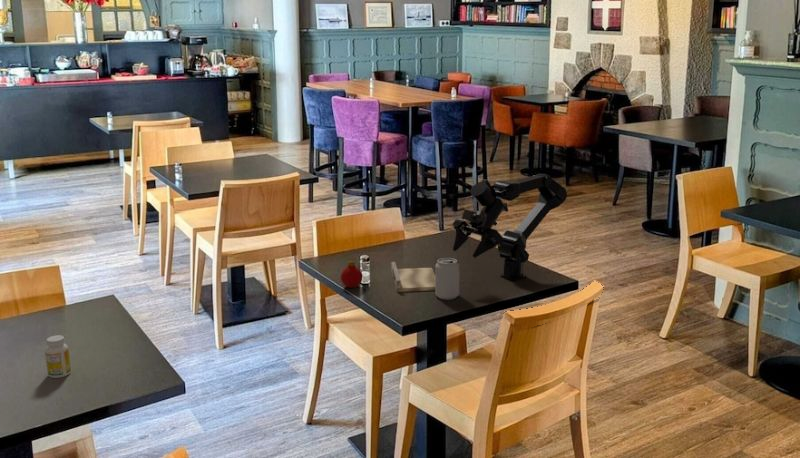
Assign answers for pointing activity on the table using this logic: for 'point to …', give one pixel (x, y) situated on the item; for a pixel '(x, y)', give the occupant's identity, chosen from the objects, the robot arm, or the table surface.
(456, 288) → the can
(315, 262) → the table surface
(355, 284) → the christmas ornament
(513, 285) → the table surface
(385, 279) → the table surface
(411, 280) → the beige tray
